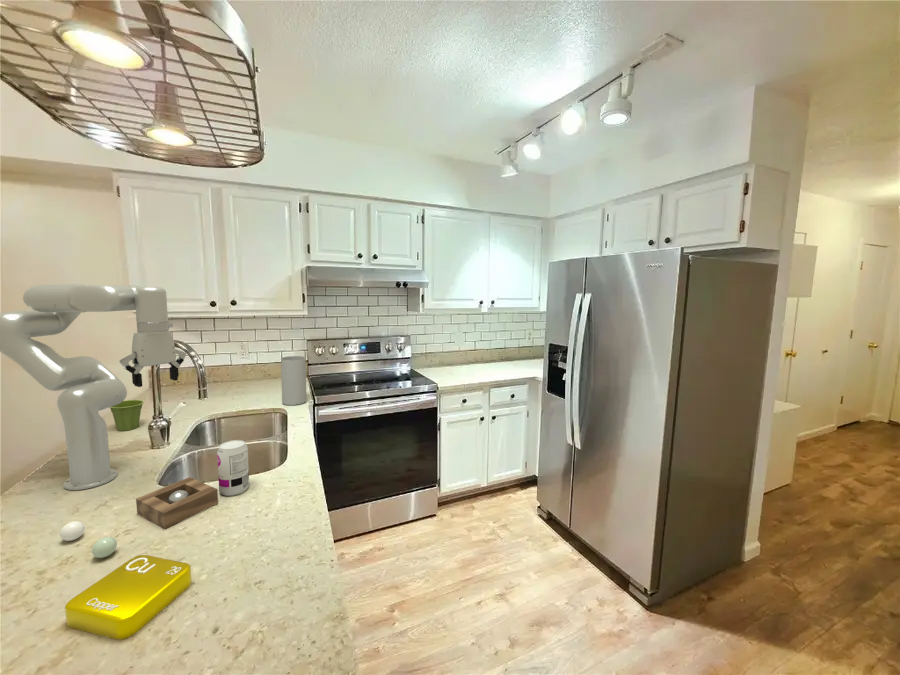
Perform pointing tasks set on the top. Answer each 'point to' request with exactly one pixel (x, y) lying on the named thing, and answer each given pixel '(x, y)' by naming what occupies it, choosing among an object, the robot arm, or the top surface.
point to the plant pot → (127, 414)
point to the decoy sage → (104, 547)
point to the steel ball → (177, 496)
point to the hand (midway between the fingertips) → (156, 382)
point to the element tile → (128, 596)
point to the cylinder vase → (293, 380)
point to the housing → (171, 514)
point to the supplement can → (233, 467)
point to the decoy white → (72, 531)
